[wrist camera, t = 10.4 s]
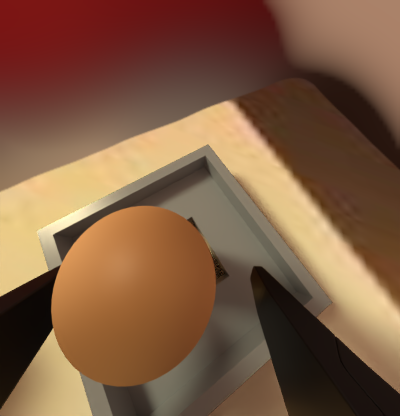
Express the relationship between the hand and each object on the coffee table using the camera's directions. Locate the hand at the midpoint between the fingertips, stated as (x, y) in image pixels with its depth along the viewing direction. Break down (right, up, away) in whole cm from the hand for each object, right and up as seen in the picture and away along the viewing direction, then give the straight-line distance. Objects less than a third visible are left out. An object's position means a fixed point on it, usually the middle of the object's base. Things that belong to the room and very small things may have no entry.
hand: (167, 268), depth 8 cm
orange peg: (0, -3, +8) cm, 9 cm away
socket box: (0, -3, +8) cm, 9 cm away
